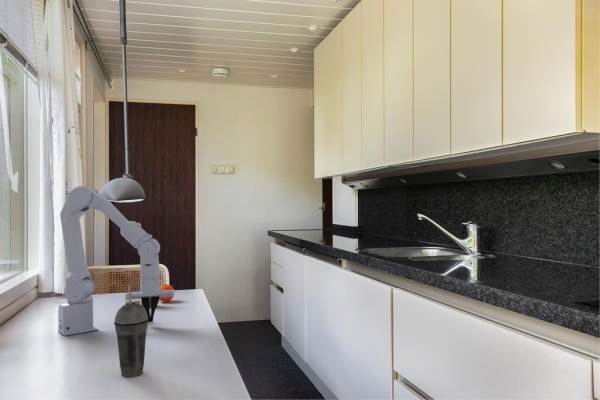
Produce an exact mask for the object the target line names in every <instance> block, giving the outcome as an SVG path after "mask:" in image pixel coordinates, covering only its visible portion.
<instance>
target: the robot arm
mask: <svg viewBox="0 0 600 400" xmlns="http://www.w3.org/2000/svg"><path fill="white" fill-rule="evenodd" d="M90 209H91V210H92V209H93V210H97V211H100V212H101V213H102V214H104V215H105V216H106V217H108V219H109V220H111V221H112V222H113V223H114V224H115V225H116V226H117V227H119V229H120V235H121V236H122V237H123V238H124V239H125V240H126V241H127V242H128V243H130V245H131V246H132V247H133V248H134V249H137V253H138V255H139V256H140V262H139V271H140V273H139V277H140V278H139V279H140V282H139V283H140V284H139V285H140V286H139V287H140V291H133V292H131V301H133V300H140V303H141V302H142V304H143V306H144V309H145V310H146V312H147V315H148V319H149V321H148V323H153V322H154V317H155V312H156V309H157V307H158V304H159V303H160V302H159V301H160V300H159V297H173V298H174V297H175V293H174V292H175V289H174V290H160V286H161V285H160V261H159V260H160V259H159V257H160V256H159V253H160V251H161V244H160V242H158V240H157V239H156V238H153V235H152V234H151V233H150V234H149V233H148V232H146V231H145V230H144V229H143V228H142V224H141V223H140V222H136V221H134V220H133V221H132V220H131V221H130V220H128V219H127V218H126V217H125V216H124V215H123V214H122V213H121V212H120V211H119V209H118V208H117V207H115V205H114V204H112V202H111V201H110V200H109V199H108V198H107V197H106V196H105V195H103V194H102V193H99V191H98V190H97V189H96V188H94V187H87V186H83V185H79V186H76V187H73V188H72V189H71V190H70V191H69V192H68V193H67V194H66V198H65V202H64V204H63V206H62V207H61V210H60V215H59V216H60V223H61V229H62V230H61V231H62V237H63V244H64V252H65V259H66V266H67V275H66V277H65V282H66V283H65V287H64V290H63V295H64V298H65V299H66V302H65V303H60V304H59V305H58V310H57V318H58V319H57V320H58V321H57V322H58V326H57V327H58V329H57V332H58V333H60V334H61V335H62V336H70V335H77V334H83V333H88V332H93V331H98V329H99V328H98V327H97V326H94V299H93V297H92V295H93V294H94V292H95V289H96V285H95V284H96V283H94V281H93V279H92V278H91V273H90V271H89V270H88V268H87V261H86V256H85V254H86V253H85V249H84V248H85V247H84V241H83V234H82V226H81V220H80V219H81V218H82V217H83V215H85V213H87V211H88V210H90ZM155 295H156V296H155ZM144 296H146V297H144ZM150 298H151V308H150ZM124 299H125V301H129V293H128V292H125V295H124Z"/></svg>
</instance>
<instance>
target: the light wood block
mask: <svg viewBox="0 0 600 400" xmlns="http://www.w3.org/2000/svg"><path fill="white" fill-rule="evenodd" d="M128 303H129V300H125V304H128ZM131 303H137V304H140V305H141V299H132V300H131Z"/></svg>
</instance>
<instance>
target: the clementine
mask: <svg viewBox="0 0 600 400" xmlns="http://www.w3.org/2000/svg"><path fill="white" fill-rule="evenodd" d="M159 286H160V290H174V294H175V289H174V287H173V286H172V285H170V284H168V283H167V284H166V283H165V284H162V285H159ZM173 298H174V297H159V301H160V302H162V303H166V302H170V301H172V299H173Z"/></svg>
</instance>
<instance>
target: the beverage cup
mask: <svg viewBox="0 0 600 400" xmlns="http://www.w3.org/2000/svg"><path fill="white" fill-rule="evenodd" d="M127 289H128V290H127V291H128V292H127V293H129V300H128V301H129V303H128V304H126V303H124V305H122V306H121V307H120V308H119V309H118V310H117V312H116V314H115V316H114V322H113V324H114V330H115V333H116V340H117V351H118V359H119V368H120V372H121V373H120V375H121V377H123V378H135V377H138V376H141V375H143V373H144V367H145V353H146V338H147V329H148V324H149V322H148V321H149V319H148V315H147V312H146V310H145V308H143V307H142V306H141V303H140V304H137V303H131V301H132V300H131V293H132V292H131V291H132V289H131V283H128V284H127Z"/></svg>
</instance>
